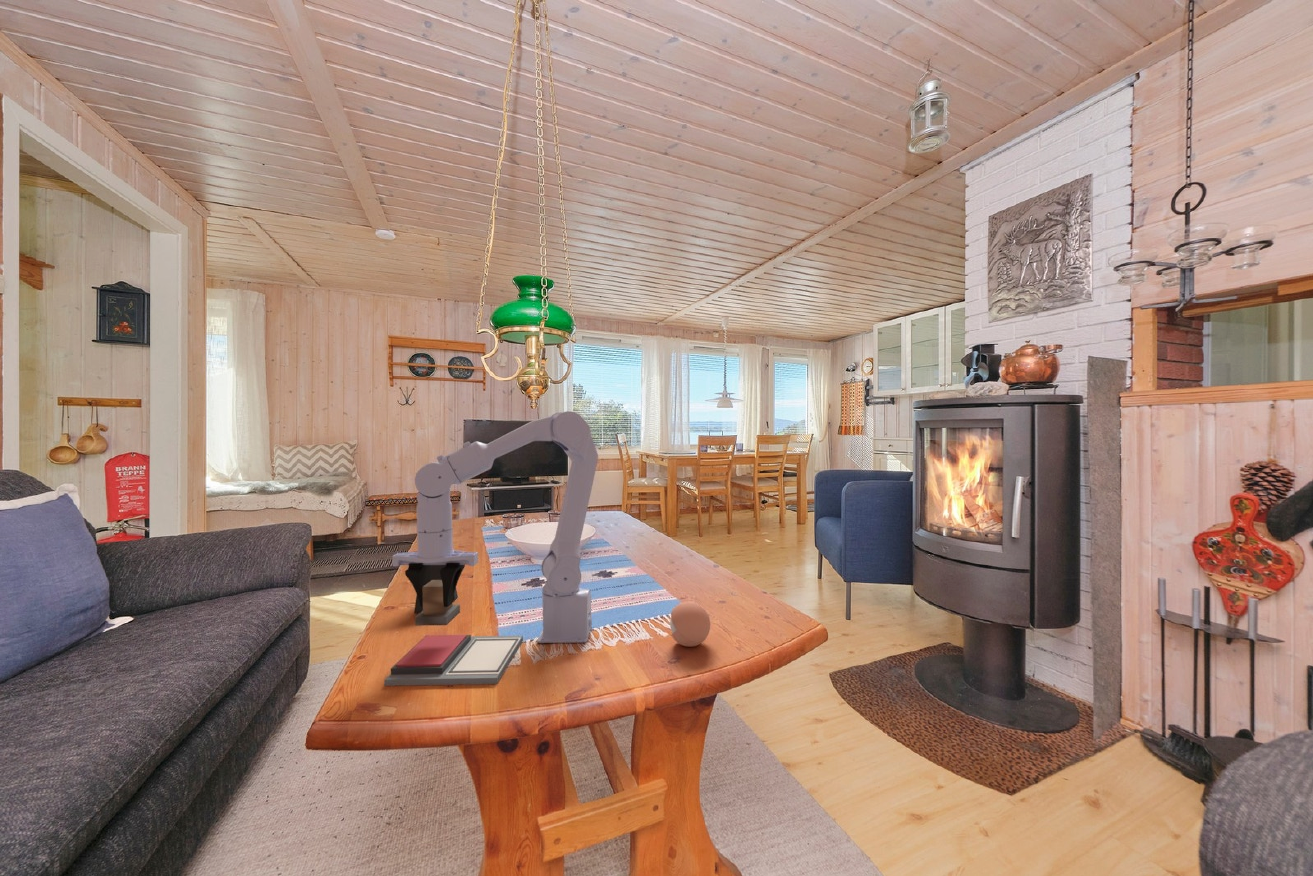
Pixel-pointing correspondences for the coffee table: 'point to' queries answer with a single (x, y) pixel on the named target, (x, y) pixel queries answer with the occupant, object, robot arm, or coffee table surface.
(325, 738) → the coffee table surface
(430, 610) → the stamp
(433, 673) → the stamp board
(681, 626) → the toy ball
